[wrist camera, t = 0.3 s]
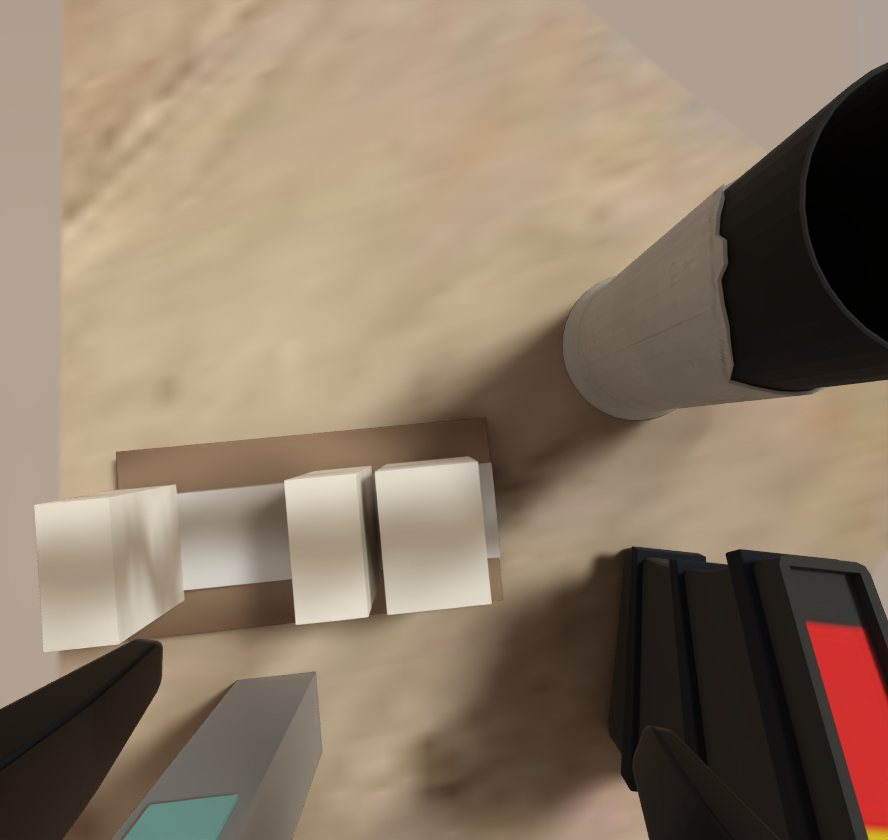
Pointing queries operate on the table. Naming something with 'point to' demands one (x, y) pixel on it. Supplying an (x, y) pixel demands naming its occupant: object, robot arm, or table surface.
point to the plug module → (239, 768)
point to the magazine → (762, 682)
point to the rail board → (273, 535)
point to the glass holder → (754, 280)
